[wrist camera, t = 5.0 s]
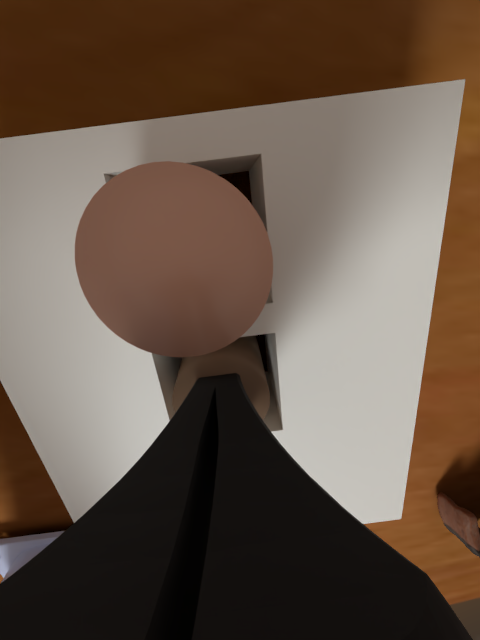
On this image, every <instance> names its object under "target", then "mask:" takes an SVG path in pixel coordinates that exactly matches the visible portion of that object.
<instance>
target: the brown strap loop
mask: <svg viewBox="0 0 480 640" xmlns="http://www.w3.org/2000/svg"><path fill="white" fill-rule="evenodd" d="M437 498H438V509H439V513H440V516H441V518H442V520H443V522H444V525H445V526H446V527H447V529H448V530H449V531H450V532H452V533H453V534H454V535H456V536H457V537H458V538H459V539H460V540H461V541H462V542H463V543H464V544H465V545H466V547H467V548H468V549H470V551H471V552H472V553H473V554H475V555H477V556H479V557H480V528H479V527H478V523H477V517H476V516H475V514H473V513H472V512H470V511H469V510H467V509H464V508H461V507H458V506H457V505H456V504H455V502H454V501H453V500H452V499H450V498H449V497H448V496H447V495H445V494H444V493H442V492H441V493H439V494H438V496H437Z"/></svg>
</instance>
